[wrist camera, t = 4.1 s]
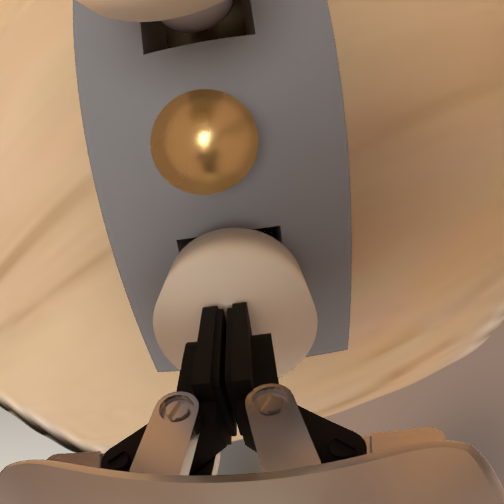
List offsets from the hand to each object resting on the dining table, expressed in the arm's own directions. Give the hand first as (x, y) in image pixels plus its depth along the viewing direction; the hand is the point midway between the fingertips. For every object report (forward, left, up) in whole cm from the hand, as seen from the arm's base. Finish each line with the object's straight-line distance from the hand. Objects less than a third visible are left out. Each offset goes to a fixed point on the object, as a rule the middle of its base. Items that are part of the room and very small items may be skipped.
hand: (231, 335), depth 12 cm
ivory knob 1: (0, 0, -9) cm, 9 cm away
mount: (0, -7, -10) cm, 13 cm away
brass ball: (0, -7, -4) cm, 8 cm away
